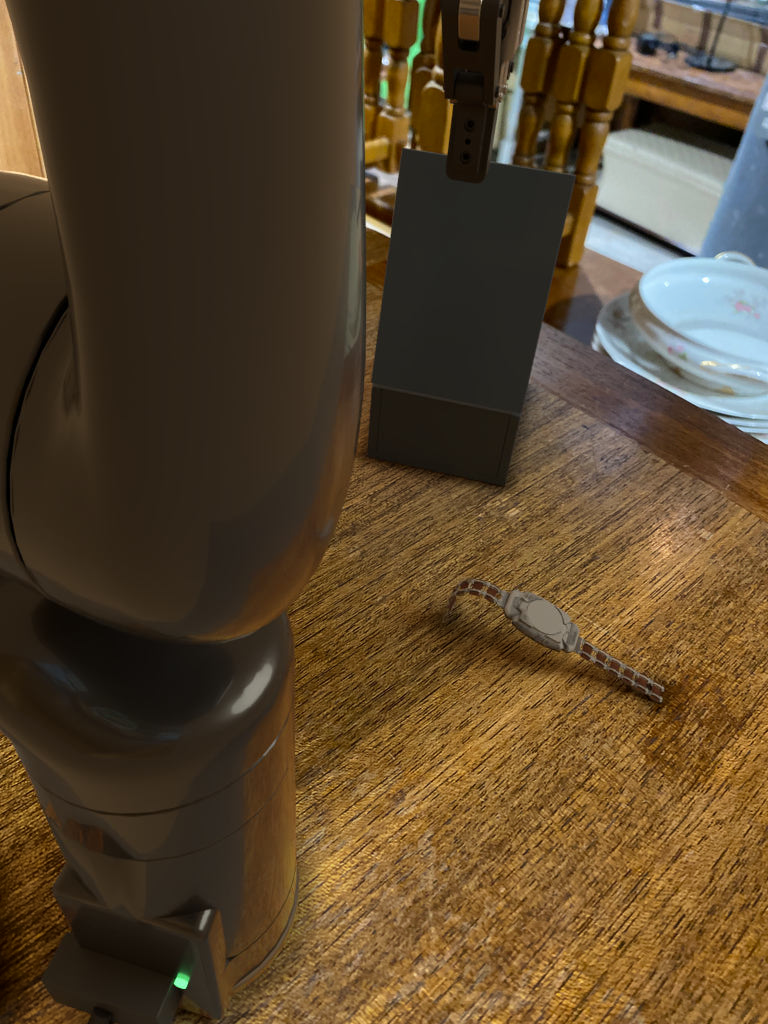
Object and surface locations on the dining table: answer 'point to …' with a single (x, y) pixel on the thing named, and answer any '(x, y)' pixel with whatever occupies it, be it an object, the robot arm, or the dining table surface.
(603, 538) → the dining table surface
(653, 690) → the wristwatch
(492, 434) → the chest
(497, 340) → the lid
